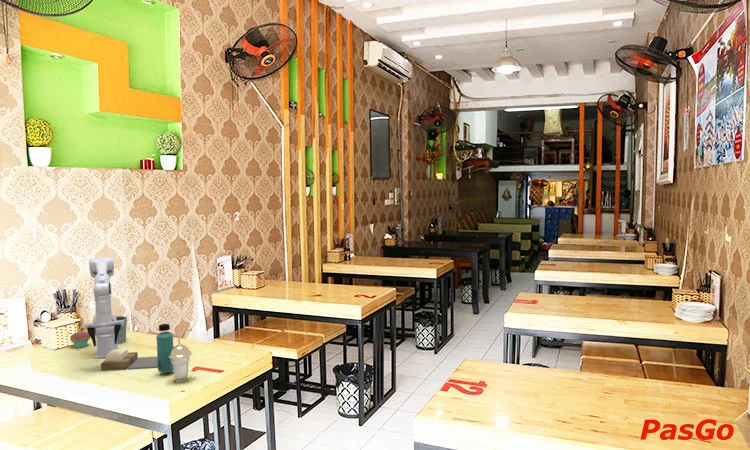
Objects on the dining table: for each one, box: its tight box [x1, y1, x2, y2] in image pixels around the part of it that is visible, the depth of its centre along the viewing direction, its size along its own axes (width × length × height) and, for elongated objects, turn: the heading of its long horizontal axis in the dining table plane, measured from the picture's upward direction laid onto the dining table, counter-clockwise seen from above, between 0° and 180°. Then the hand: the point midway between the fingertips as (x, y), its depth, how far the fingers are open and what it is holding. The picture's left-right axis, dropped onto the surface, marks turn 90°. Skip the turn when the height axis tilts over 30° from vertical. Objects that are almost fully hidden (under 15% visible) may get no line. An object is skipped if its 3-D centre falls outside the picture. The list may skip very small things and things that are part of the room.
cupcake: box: [69, 323, 91, 349], centre depth 251 cm, size 9×8×12 cm
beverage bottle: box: [155, 323, 174, 373], centre depth 210 cm, size 6×7×20 cm
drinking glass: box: [115, 315, 128, 346], centre depth 256 cm, size 10×10×12 cm
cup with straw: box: [168, 328, 193, 383], centre depth 202 cm, size 8×9×20 cm
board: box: [100, 351, 139, 372], centre depth 222 cm, size 14×10×3 cm
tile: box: [105, 348, 129, 361], centre depth 222 cm, size 8×6×2 cm
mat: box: [127, 356, 158, 370], centre depth 224 cm, size 14×12×1 cm
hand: (105, 344), depth 216 cm, fingers open, 7 cm apart
